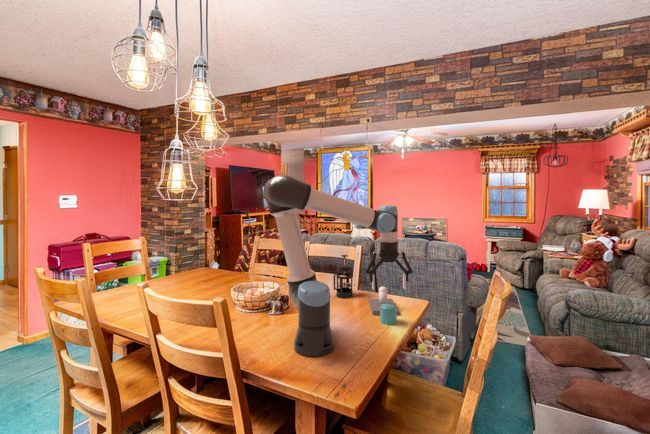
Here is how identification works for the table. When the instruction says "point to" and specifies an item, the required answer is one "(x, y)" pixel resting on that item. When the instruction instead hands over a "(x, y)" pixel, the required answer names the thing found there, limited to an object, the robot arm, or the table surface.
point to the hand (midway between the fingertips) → (388, 288)
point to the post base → (377, 307)
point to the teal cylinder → (388, 314)
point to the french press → (344, 288)
